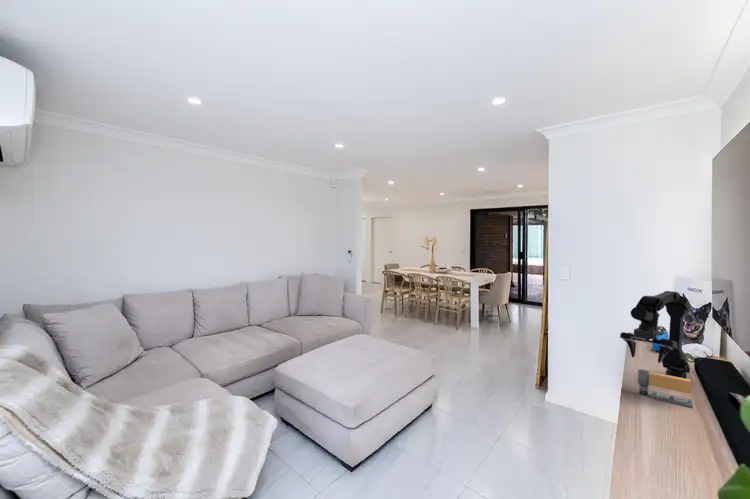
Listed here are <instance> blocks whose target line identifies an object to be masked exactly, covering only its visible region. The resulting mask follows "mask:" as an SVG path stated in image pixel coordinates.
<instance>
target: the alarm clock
mask: <svg viewBox="0 0 750 499" xmlns="http://www.w3.org/2000/svg"><path fill="white" fill-rule="evenodd" d="M657 328H658V331H657V338H658V339H657V340H661V339H667V340H669V331H668V330H667V329H666V327H664V326H662V325H658V327H657ZM651 341H653V340H652V339H651ZM651 345H652V349H653V351H656V352H659V351H660V348H659V346H662V345H661V344H655V343H651Z"/></svg>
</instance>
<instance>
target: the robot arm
mask: <svg viewBox="0 0 750 499" xmlns="http://www.w3.org/2000/svg"><path fill="white" fill-rule="evenodd" d="M691 306H692V305H691V303H690V301H689V300H688V299H687V298H686V297H684V296H682V295H681V294H680V292H677V291H671V290H669V291H668V290H665V291H663V292H662V293H661V292H660V293H659V294H655V295H643V296H642V297H640V299H639V301H638V302H637V304H636V305H635V307H633V308H632V309H631V310H630V316H631V317H632V318H633V319H634V320H637V321H640V324H639V325H638V328H635V329H633V333H631V332H630V333H629V332H625V331H624V332H620V335H619V338H620V339H623V341H624V342H626V344H627V346H628V348H629V351H630V354H631V358H635V355H636V348H637V343H636V342H635V341H639V342H645V343H650V344H652V343H655V344H661V345H662V346H659V348H660V351H658V358H657V363H658V364H662V368H665V369H666V370H665V375H669V376H675V377H680V378H685V379H687V373H691V366H690V364H689V361H688V360H687V356H686V355H687V354H685V352H684V351H683V337H684V335H683V333H684V319H686V318H687V316H688V315H689V313H690V311H691ZM664 308H665V309H666V310H665V311H666V313H667V314H668V316H669V317H670V318H669V320H670V321H669V331H668V340H667V339H661V340H657V339H658V338H657V331H658V328H657V327H658V326H659V325H658V324H659V317H660V315H661V314H660V313H659V312H660V311H661V310H663V309H664ZM652 340H653V341H652Z"/></svg>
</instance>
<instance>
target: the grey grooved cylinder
mask: <svg viewBox="0 0 750 499" xmlns="http://www.w3.org/2000/svg"><path fill="white" fill-rule="evenodd" d="M638 387H639V388H638V394H639V395H641V396H642V395H643V396H649V386H643V385H640V384H638Z"/></svg>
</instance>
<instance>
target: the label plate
mask: <svg viewBox="0 0 750 499" xmlns="http://www.w3.org/2000/svg"><path fill="white" fill-rule="evenodd" d="M651 399H652V400H655V401H660V402H664V403H668V404H672V405H673V404H674V405H676V406H681V407H685V408H691V409H693V408H694V407H693V399H690V398H688V397H687V398H686V397H683V396H677V395H673V394H668V393H664V392H660V391H655V390H653V391H652V395H651Z"/></svg>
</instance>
